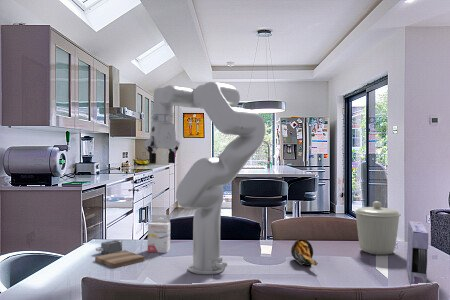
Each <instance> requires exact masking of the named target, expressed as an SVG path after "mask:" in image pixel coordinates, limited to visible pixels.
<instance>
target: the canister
mask: <svg viewBox="0 0 450 300" xmlns="http://www.w3.org/2000/svg"><path fill="white" fill-rule="evenodd" d="M382 206H383V205H382V202H380V201H377V200H376V201H375V200H374V201H373V202H372V206H365V207H359V208H357V209H355V210H354V214H355V217H356V218H355V219H356V220H355V221H356V229H357V236H358V237H357V238H358V244H359V248H360V249H361V250H362V252H365V253H367V254H371V255H375V256H377V255H378V256H380V255H381V256H386V255H387V256H388V255H391V254H393V252H394V251H395V249H396V245H397V236H398V230H399V221H400V216H401V215H402V213H400V212H398V210H397V209H393V208H389V207H382Z"/></svg>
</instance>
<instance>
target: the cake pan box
mask: <svg viewBox="0 0 450 300" xmlns="http://www.w3.org/2000/svg"><path fill="white" fill-rule="evenodd" d="M407 226H408V227H407V249H406V251H407V253H406V274H407V278H408V282H409V285H410V284H418V283H426V284H427V281H428V280H427V279H428V278H427V276H428V275H427V271H428V270H427V269H428V249H429V232H428V230H427V228H426V226H425V225H424V223H423V222H421V221H416V220H415V221H413V220H409V221H408V225H407Z"/></svg>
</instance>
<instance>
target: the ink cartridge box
mask: <svg viewBox="0 0 450 300" xmlns="http://www.w3.org/2000/svg"><path fill="white" fill-rule="evenodd" d="M150 218H151V220H150V222H149V223H148V224H147V253H162V254H167V253H169V252H170V251H171V216H170V215H169V214H151V217H150Z"/></svg>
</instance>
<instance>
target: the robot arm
mask: <svg viewBox="0 0 450 300" xmlns="http://www.w3.org/2000/svg"><path fill="white" fill-rule="evenodd" d="M240 99H241V96H240V92H239V90H238V89H237V88H236V87H234V86H233V85H230V84H227V83H221V82H217V81H209V82H205V83H204V84H199V85H198V86H197V87H195V88H192V87H185V86H178V85H173V84H169V85H165V86H163V87H157V88H155V89H154V90H153V105H152V106H153V107H152V108H153V113H152V114H153V115H151V120H152V123H151V128H150V134H149V138H148V139H147V140H145V141H144V142H143V144H144V146H145V150H146V151H147V153H148V154H149V156H148V157H149V160H148V161H149V163H148V164H151V165H152V164H153V165H155V164H157V161H156V160H157V152H156V151H157V150H158V149H167V150H168V152H169V153H168V156H167V157H168V164H175V163H176V153H177V151H178V150H179V146H180V143H181V142H179V141H178V140H177V133H176V127H175V126H176V125H175V123H173V121H174V120H173V119H174V117H173V116H174V115H173V112H174V110H173V109H174V107H183V108H191V109H192V108H193V109H195V108H196V109H203V111H204V112H205V113H206V116H208V118H209V119H210V121H211V123H212V124H213V126H214V127H215V128H216V130H217V131H219V132H220V133H221V134H224V135H228V136H229V135H230V136H232V135H233V136H234V135H235V136H237V137H236V138H234V139H233V140H232V141H230V142H229V143H228V144H227V145H226V146H225V147H224V149H223V151H222V152H221V153H220V154H219V155H218V156H215V157H213V156H212V157H210V156H209V157H202V158H200V159H198V160H196V161H195V162H194V163H193V164H192V166H191V167H190V168H189V170H188V171H187V173H186V174H184V177H183V178H182V179H181V180H180V183H179V184H178V186H177V188H176V191H175V199H176V201H177V204H178V205H179V206H180V207H182V208H183V209H188V210H189V209H195V212H194V215H193V221H192V250H193V251H192V262H191V263H190V264H189V265H188V271H189V272H191V273H192V274H193V273H194V274H196V275H214V274H215V275H216V274H220V273H222V272H224V271H225V269H226V268H227V267H228V263H227V262H224V261H223V256H221V217H222V214H221V213H222V206H223V200H224V188H223V186H228V185H229V184H231V182H232V181H234V179H235V178H236V177H237V176H238V174H239V173H240V172H241V170H242V169H243V168H244V167H245V165H246V164H247V162H248V161H249V160H250V159H251V158H252V157H253V156H254V155H255V153H256V152H257V151H258V149H259V148H260V147H261V145H262V143H263V142H264V139H265V135H266V124H265V120H264V118H263V117H262V115H261V114H260V113H259V112H257V111H255V110H251V109H249V108H248V109H247V108H239V107H237V106H238V105H239V103H240ZM173 106H174V107H173Z"/></svg>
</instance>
